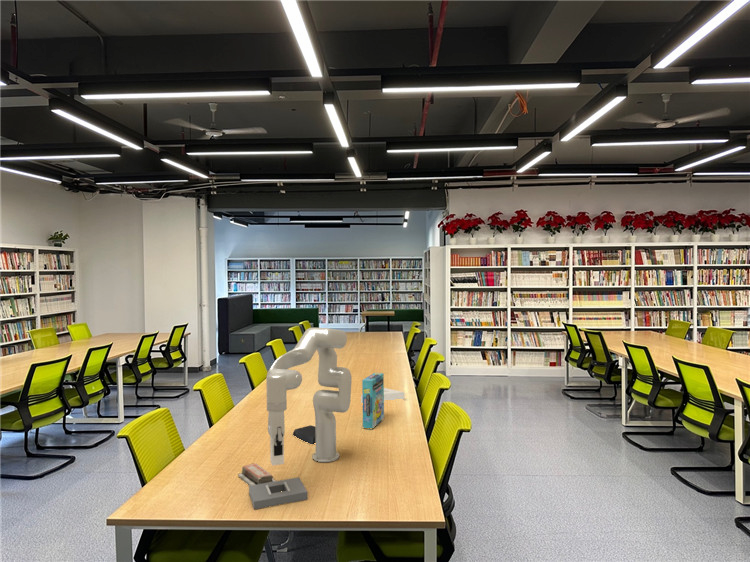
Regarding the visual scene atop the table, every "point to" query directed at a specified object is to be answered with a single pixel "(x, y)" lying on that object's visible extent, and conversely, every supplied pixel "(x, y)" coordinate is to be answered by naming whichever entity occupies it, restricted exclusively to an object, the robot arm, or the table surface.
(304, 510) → the table surface
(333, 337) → the robot arm
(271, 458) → the charger plug
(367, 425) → the game box
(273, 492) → the plate
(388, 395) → the triangle block
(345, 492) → the table surface
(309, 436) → the black angular slab
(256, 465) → the packaged product
